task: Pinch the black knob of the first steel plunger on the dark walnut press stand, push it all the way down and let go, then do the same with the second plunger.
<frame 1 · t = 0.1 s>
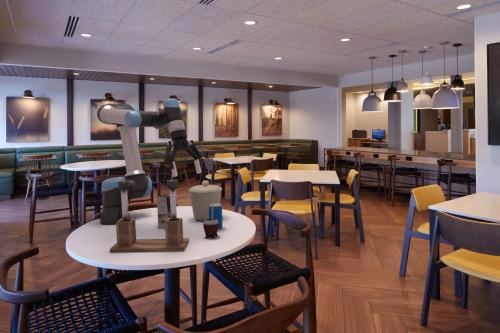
hand: (187, 174, 162), 28 cm above the table, tool tilted 20°, fingers open, 13 cm apart
plunger b: (173, 202, 145), point 19 cm above the table, slide at 0.0 cm
canister: (206, 219, 192), on the table
beverage can: (215, 229, 172), on the table
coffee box: (167, 226, 178), on the table
plunger a: (124, 203, 145), point 19 cm above the table, slide at 0.0 cm
press stand: (151, 246, 147), on the table
mate gourd: (211, 236, 160), on the table
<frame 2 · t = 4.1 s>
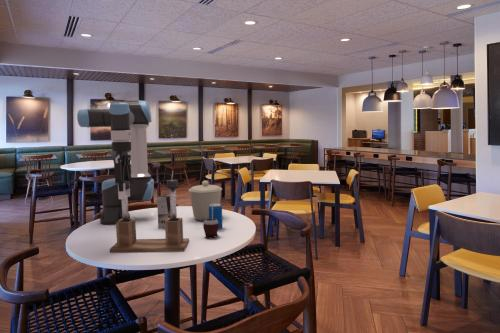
hand: (124, 197, 144), 21 cm above the table, tool pointing down, fingers closed on plunger a, 4 cm apart
plunger a: (124, 203, 145), point 19 cm above the table, slide at 0.0 cm, touching gripper
everything else where it was.
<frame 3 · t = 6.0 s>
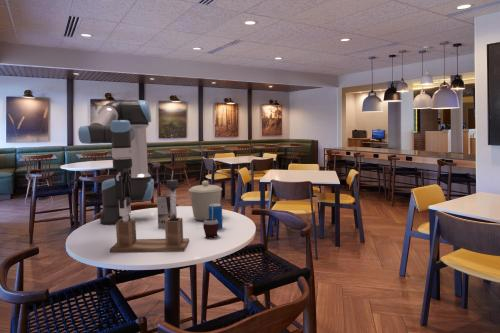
hand: (125, 214, 145), 14 cm above the table, tool pointing down, fingers closed on plunger a, 4 cm apart
plunger a: (125, 219, 145), point 12 cm above the table, slide at 7.0 cm, touching gripper
everything else where it was.
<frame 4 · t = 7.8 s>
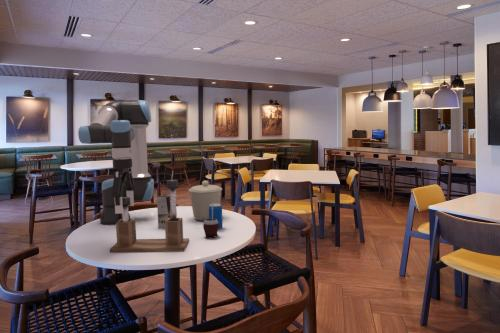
hand: (125, 209, 145), 16 cm above the table, tool pointing down, fingers open, 13 cm apart
plunger a: (125, 219, 145), point 12 cm above the table, slide at 7.0 cm
everything else where it was.
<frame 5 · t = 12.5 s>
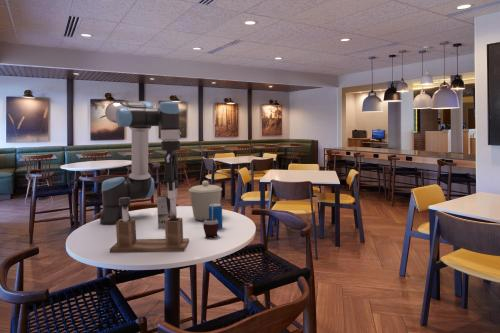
hand: (172, 196, 145), 21 cm above the table, tool pointing down, fingers closed on plunger b, 4 cm apart
plunger b: (173, 202, 145), point 19 cm above the table, slide at 0.0 cm, touching gripper
everything else where it was.
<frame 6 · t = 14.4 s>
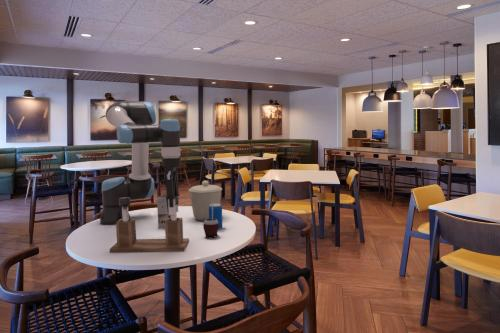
hand: (173, 213, 145), 14 cm above the table, tool pointing down, fingers closed on plunger b, 4 cm apart
plunger b: (173, 218, 146), point 12 cm above the table, slide at 6.9 cm, touching gripper
everything else where it was.
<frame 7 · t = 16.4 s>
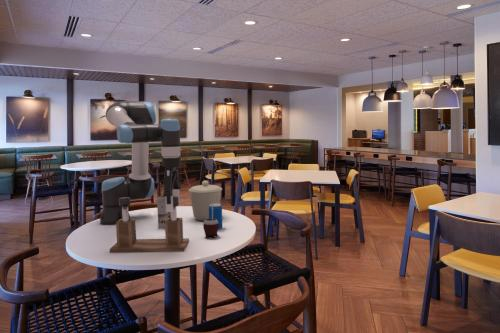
hand: (173, 208, 145), 16 cm above the table, tool pointing down, fingers open, 13 cm apart
plunger b: (173, 219, 146), point 12 cm above the table, slide at 7.0 cm
everything else where it was.
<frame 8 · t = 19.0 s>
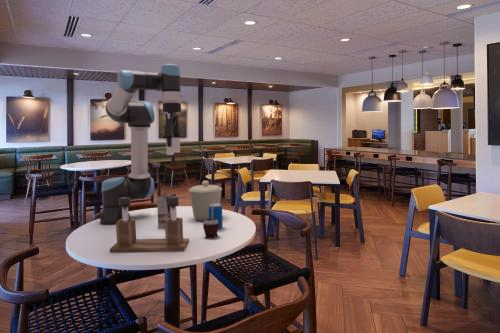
hand: (173, 153, 148), 39 cm above the table, tool pointing down, fingers open, 13 cm apart
nothing on the table moved.
at the end: plunger a slide at 7.0 cm; plunger b slide at 7.0 cm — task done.
